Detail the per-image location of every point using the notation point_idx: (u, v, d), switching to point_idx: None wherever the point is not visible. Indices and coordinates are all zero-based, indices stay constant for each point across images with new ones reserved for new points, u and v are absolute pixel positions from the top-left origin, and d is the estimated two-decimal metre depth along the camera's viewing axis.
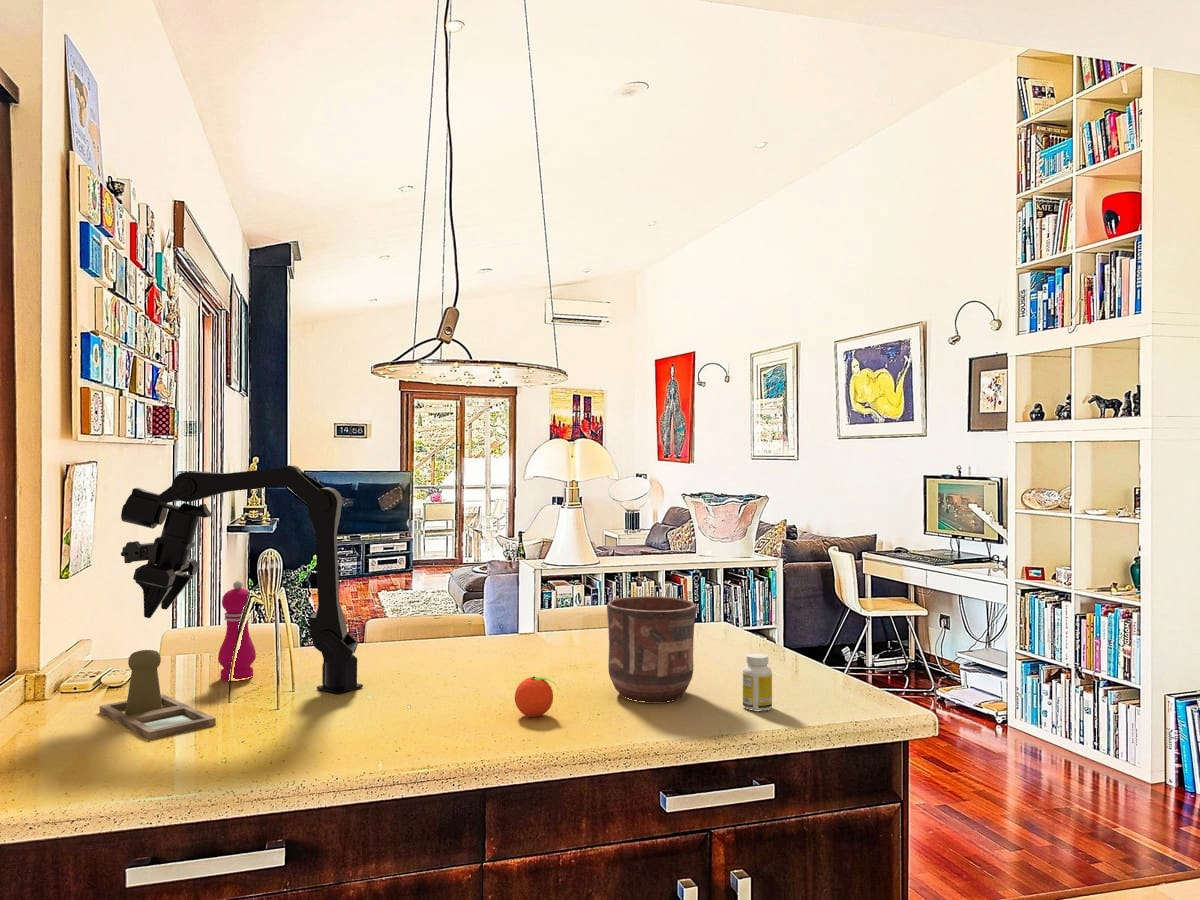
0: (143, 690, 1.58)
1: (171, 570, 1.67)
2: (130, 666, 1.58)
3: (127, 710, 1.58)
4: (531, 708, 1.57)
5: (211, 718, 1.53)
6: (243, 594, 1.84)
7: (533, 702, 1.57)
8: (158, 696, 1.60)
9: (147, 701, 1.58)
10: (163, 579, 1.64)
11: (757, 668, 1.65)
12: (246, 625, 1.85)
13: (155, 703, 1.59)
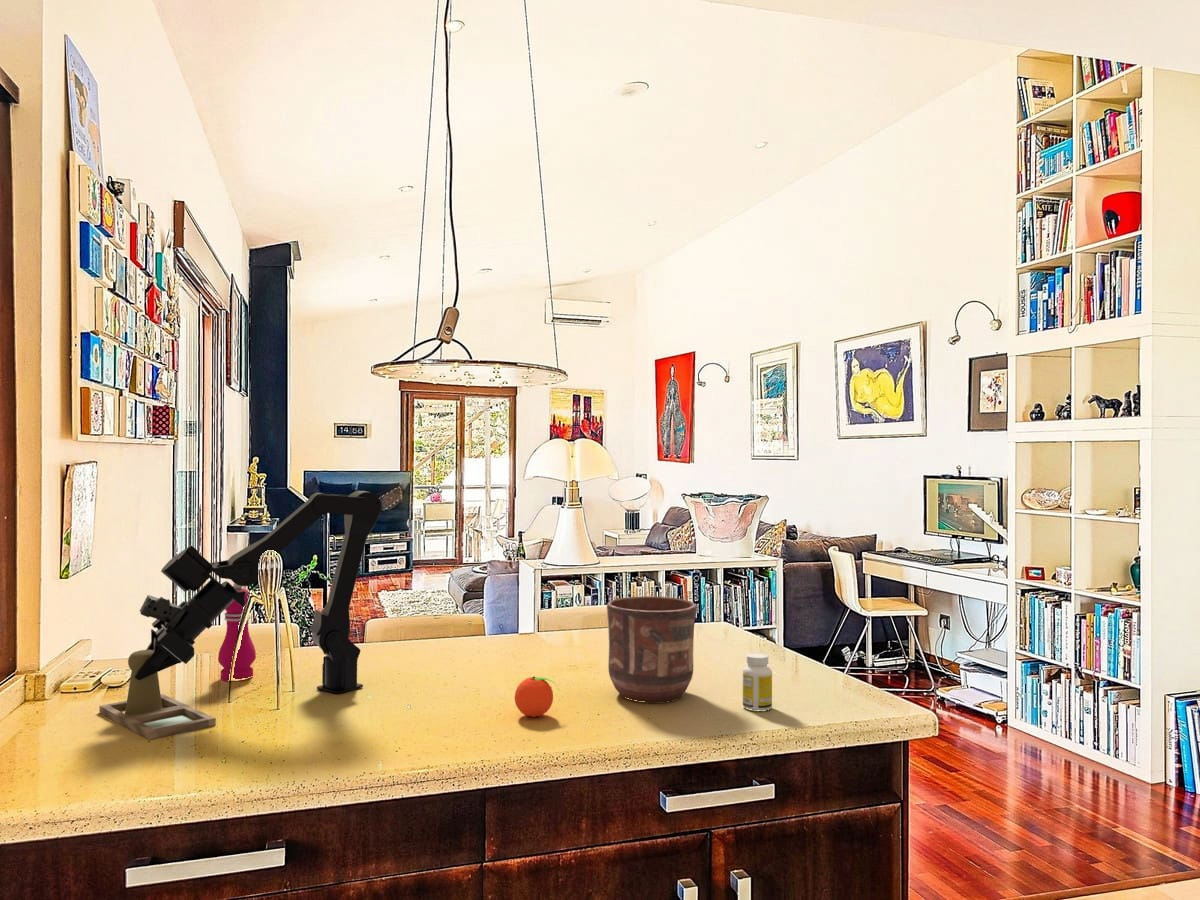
0: (143, 690, 1.58)
1: None
2: (130, 666, 1.58)
3: (127, 710, 1.58)
4: (531, 708, 1.57)
5: (211, 718, 1.53)
6: None
7: (533, 702, 1.57)
8: (158, 696, 1.60)
9: (147, 701, 1.58)
10: (188, 655, 1.55)
11: (757, 668, 1.65)
12: (246, 625, 1.85)
13: (155, 703, 1.59)
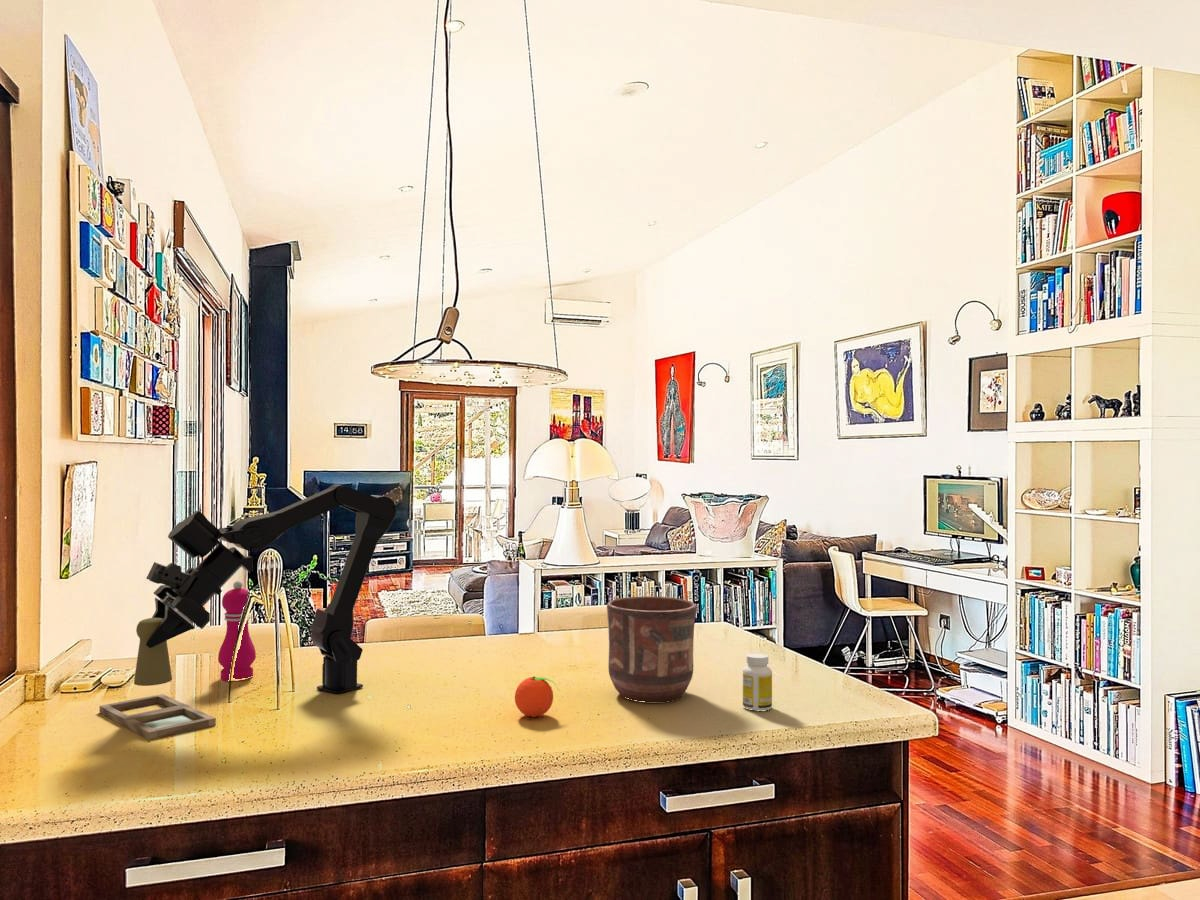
0: (154, 658, 1.55)
1: None
2: (139, 634, 1.55)
3: (137, 679, 1.55)
4: (531, 708, 1.57)
5: (211, 718, 1.53)
6: (243, 594, 1.84)
7: (533, 702, 1.57)
8: (168, 664, 1.58)
9: (158, 669, 1.55)
10: (204, 620, 1.54)
11: (757, 668, 1.65)
12: (246, 625, 1.85)
13: (166, 671, 1.57)
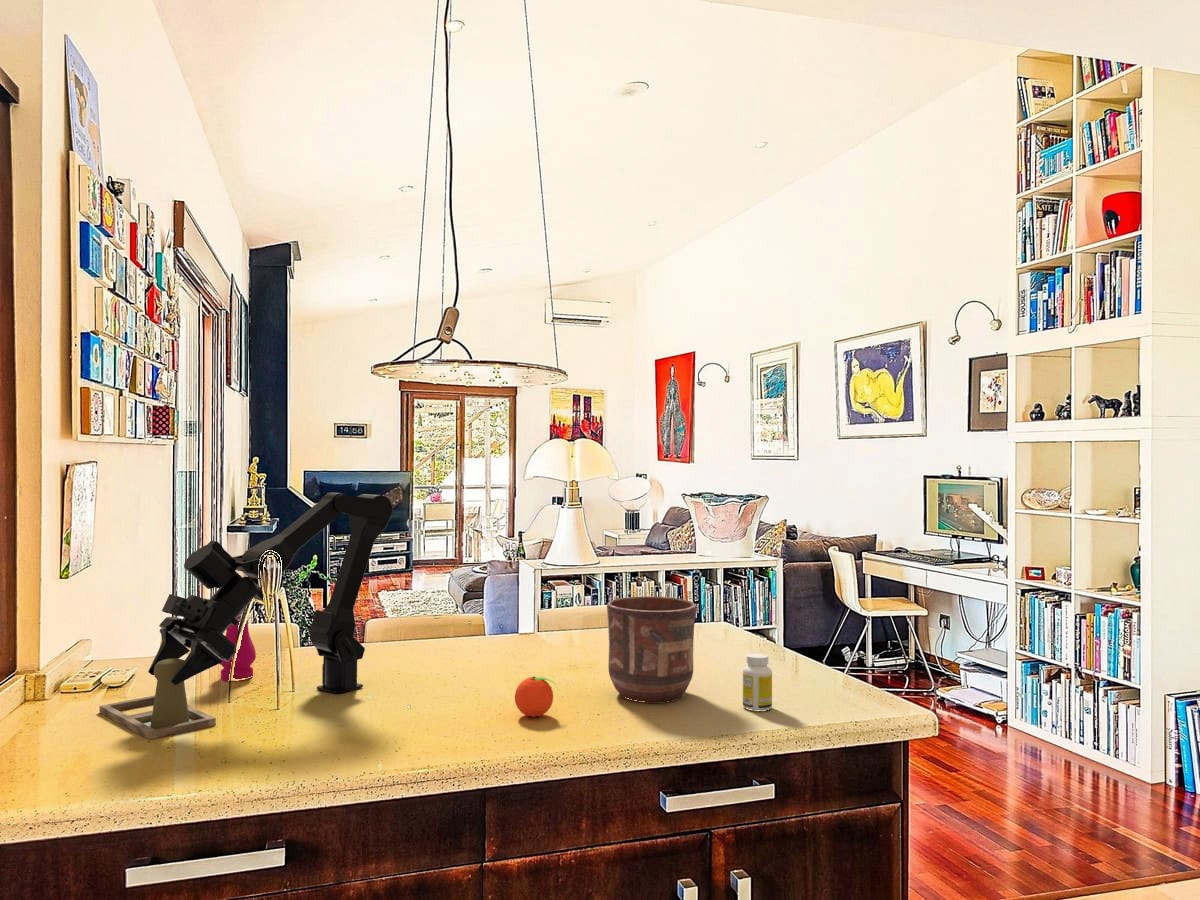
0: (174, 700, 1.51)
1: None
2: (159, 676, 1.51)
3: (156, 722, 1.50)
4: (531, 708, 1.57)
5: (211, 718, 1.53)
6: None
7: (533, 702, 1.57)
8: (186, 705, 1.54)
9: (179, 711, 1.52)
10: (231, 652, 1.51)
11: (757, 668, 1.65)
12: (246, 625, 1.85)
13: (185, 713, 1.53)
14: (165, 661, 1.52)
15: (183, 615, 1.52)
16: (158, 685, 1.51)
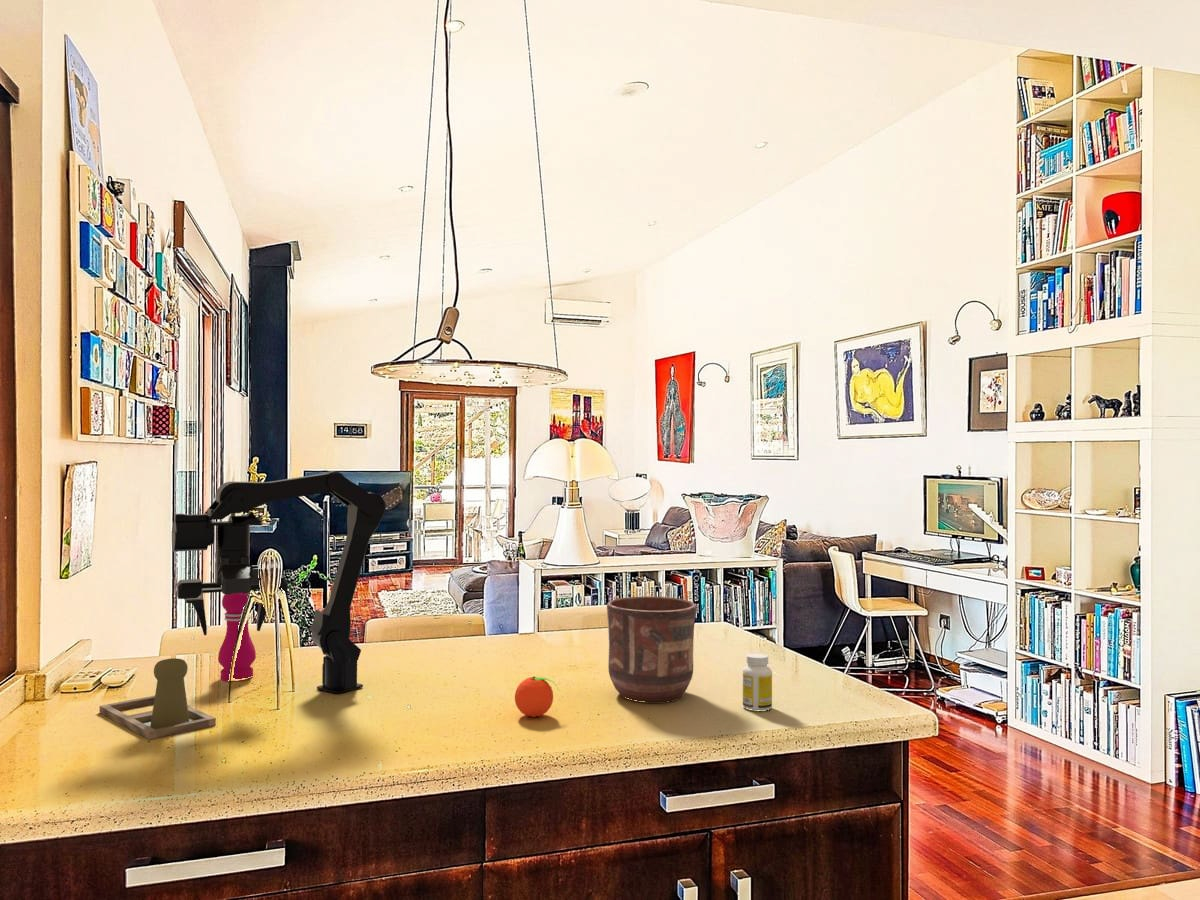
0: (174, 700, 1.51)
1: None
2: (159, 676, 1.51)
3: (156, 722, 1.50)
4: (531, 708, 1.57)
5: (211, 718, 1.53)
6: (243, 594, 1.84)
7: (533, 702, 1.57)
8: (186, 705, 1.54)
9: (179, 711, 1.52)
10: None
11: (757, 668, 1.65)
12: (246, 625, 1.85)
13: (185, 713, 1.53)
14: (165, 661, 1.52)
15: None
16: (158, 685, 1.51)
